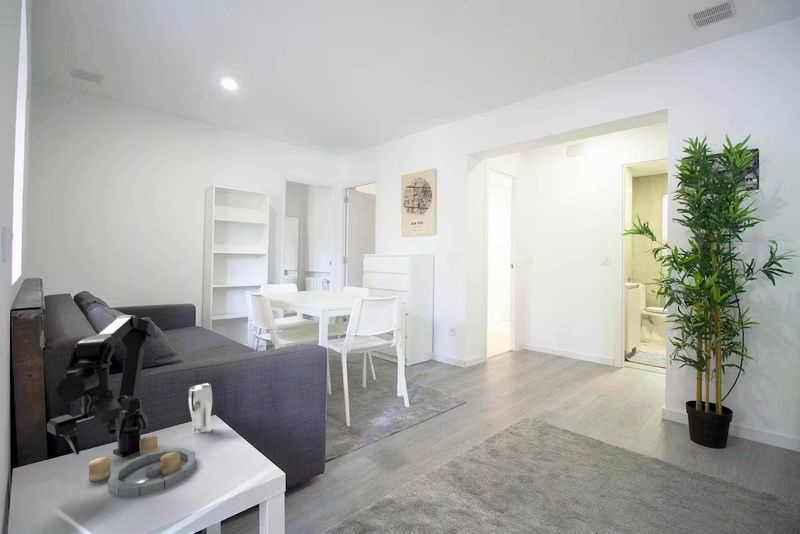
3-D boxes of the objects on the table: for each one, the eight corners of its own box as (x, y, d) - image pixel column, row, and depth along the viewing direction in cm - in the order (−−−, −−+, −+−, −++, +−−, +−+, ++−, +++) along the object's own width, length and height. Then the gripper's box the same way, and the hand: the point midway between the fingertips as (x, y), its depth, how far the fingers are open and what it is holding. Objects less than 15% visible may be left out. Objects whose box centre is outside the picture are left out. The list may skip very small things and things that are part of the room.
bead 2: (136, 457, 112) (136, 440, 112) (152, 450, 115) (152, 434, 115) (144, 461, 109) (144, 443, 109) (160, 454, 113) (160, 437, 113)
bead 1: (86, 482, 99) (85, 463, 99) (105, 473, 103) (105, 455, 103) (93, 486, 97) (93, 467, 97) (113, 478, 101) (112, 459, 101)
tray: (95, 486, 97) (94, 475, 97) (171, 452, 114) (171, 442, 114) (133, 509, 88) (133, 496, 88) (210, 468, 104) (210, 458, 104)
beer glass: (191, 429, 129) (189, 385, 129) (214, 425, 132) (212, 382, 132) (188, 438, 123) (187, 391, 123) (212, 433, 126) (211, 388, 125)
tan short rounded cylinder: (157, 477, 99) (157, 458, 99) (175, 468, 103) (174, 450, 103) (167, 481, 97) (166, 462, 97) (184, 473, 101) (183, 454, 100)
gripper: (63, 404, 88) (67, 472, 88) (150, 381, 104) (153, 437, 104) (44, 397, 93) (47, 460, 94) (129, 375, 109) (132, 429, 110)
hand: (98, 446), depth 100 cm, fingers open, 9 cm apart
